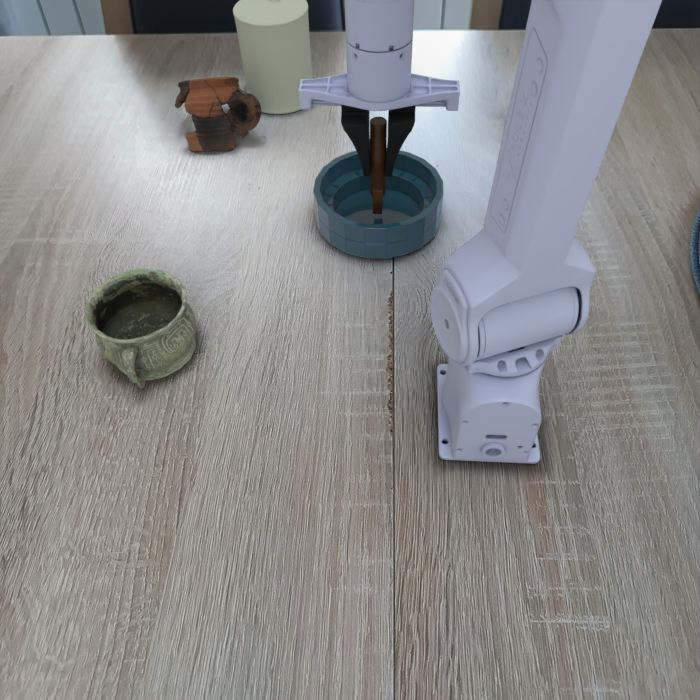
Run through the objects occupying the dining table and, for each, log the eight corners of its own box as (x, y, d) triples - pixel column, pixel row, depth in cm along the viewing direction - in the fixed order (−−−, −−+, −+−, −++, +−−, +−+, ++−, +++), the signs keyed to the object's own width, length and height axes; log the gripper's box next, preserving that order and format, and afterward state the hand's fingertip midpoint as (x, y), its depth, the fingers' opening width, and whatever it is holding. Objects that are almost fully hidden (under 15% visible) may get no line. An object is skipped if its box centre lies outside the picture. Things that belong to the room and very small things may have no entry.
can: (319, 79, 90) (313, -14, 81) (309, 115, 85) (302, 21, 75) (254, 77, 91) (240, -15, 82) (240, 113, 85) (223, 19, 76)
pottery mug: (166, 154, 81) (154, 82, 78) (212, 147, 89) (203, 82, 86) (247, 150, 76) (237, 72, 73) (289, 143, 84) (281, 73, 81)
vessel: (121, 302, 65) (100, 255, 60) (210, 300, 64) (197, 253, 60) (92, 403, 57) (65, 358, 52) (192, 401, 57) (176, 356, 52)
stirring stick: (385, 214, 69) (386, 129, 61) (369, 214, 69) (369, 129, 61) (385, 196, 71) (387, 112, 63) (371, 196, 71) (370, 112, 63)
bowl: (441, 263, 67) (444, 230, 63) (310, 260, 68) (307, 226, 64) (438, 182, 75) (441, 148, 72) (322, 180, 76) (320, 147, 72)
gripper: (463, 15, 58) (449, 148, 68) (300, 14, 59) (311, 146, 69) (466, 54, 53) (451, 190, 64) (290, 53, 54) (304, 188, 65)
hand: (378, 170), depth 66 cm, fingers closed on stirring stick, 1 cm apart
